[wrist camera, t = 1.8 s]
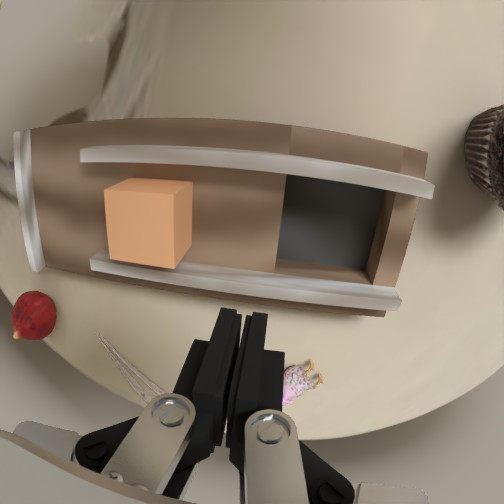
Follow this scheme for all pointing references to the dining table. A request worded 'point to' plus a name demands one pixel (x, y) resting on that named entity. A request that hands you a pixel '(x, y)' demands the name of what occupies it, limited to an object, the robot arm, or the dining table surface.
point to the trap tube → (231, 207)
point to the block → (149, 220)
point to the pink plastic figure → (297, 382)
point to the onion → (33, 316)
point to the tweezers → (129, 377)
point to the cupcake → (487, 153)
